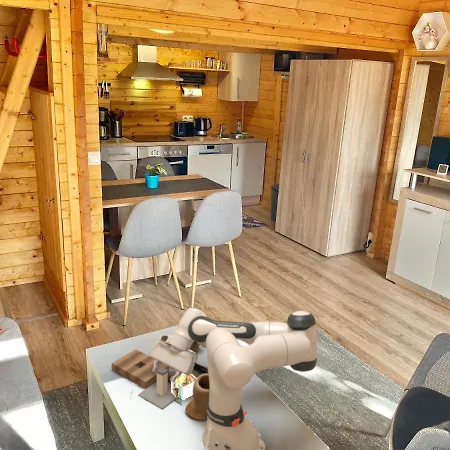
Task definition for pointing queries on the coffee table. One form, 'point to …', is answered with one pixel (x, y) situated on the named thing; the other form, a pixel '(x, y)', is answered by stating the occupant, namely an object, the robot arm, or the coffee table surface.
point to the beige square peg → (162, 381)
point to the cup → (194, 346)
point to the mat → (158, 396)
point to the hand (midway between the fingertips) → (162, 376)
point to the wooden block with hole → (138, 368)
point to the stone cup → (199, 398)
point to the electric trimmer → (200, 369)
